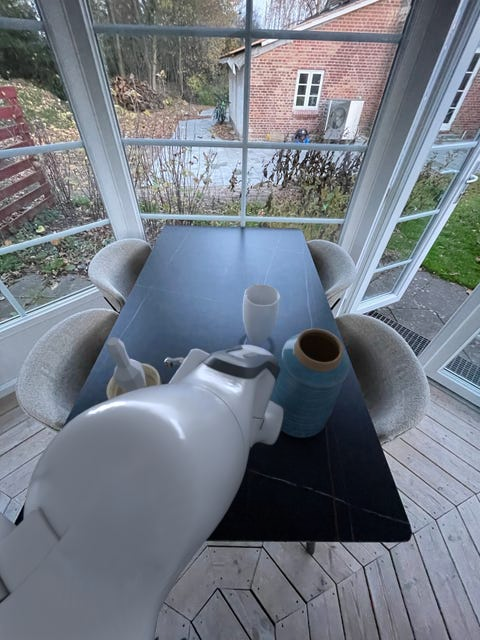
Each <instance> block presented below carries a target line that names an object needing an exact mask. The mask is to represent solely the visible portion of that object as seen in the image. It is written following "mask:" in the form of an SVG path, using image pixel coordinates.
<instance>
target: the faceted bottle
mask: <svg viewBox="0 0 480 640" xmlns="http://www.w3.org/2000/svg"><path fill="white" fill-rule="evenodd" d="M106 346H107V347H106V348H107V353H108V354H109V356H110V357H111V358H112V360H113V361H114V363H115V365H116V366H115V367H114V369H113V376H114V379H115V381H116V382H117V384H118V386H119V387H120V388H121V389H122V390H123V391H124V392H125V393H128V392H131V391H135V390H138V389H142V388H146V387H147V384H146V379H145V374H144V371H143V368H142V366H141V364H140V363H141V362H140V361H138V360H135V359H133V358H130V357H129V355H128V353H127V349H126V345H125V343H124V342H123V341H122V340H121V339H120V338H118V337H116V336H115V337H110V338H108V340H107V342H106Z"/></svg>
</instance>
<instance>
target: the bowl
mask: <svg viewBox="0 0 480 640" xmlns="http://www.w3.org/2000/svg"><path fill="white" fill-rule="evenodd" d="M140 364H141V366H142V368H143V371H144V374H145V379H146V384H147V387H150V386H156V385H163V382H162V379H161V376H160V374H159V371H158V370H157V369H156V368H155V367H154V366H152V365H151V364H148V363H142V362H140ZM122 394H125V392H124V391H123V390H122V389H121V388H120V387H119V386H118V384H117V382H116V381H115V379H114V375H112V377H111V378H110V379H109V382H108V384H107V385H106V397H107V400H109V399H112V398H114V397H116V396H119V395H122Z"/></svg>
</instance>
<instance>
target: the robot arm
mask: <svg viewBox="0 0 480 640" xmlns="http://www.w3.org/2000/svg"><path fill="white" fill-rule="evenodd" d="M278 362H279V360H278V359H277V357H276V356H275V355H273V354H272V352H270V351H268V350H267V349H265V348H263V347H261V346H257V345H254V344H237V345H236V346H233V347H231V348H225V349H220V350H216V351H212V352H211V353H208V352H206V351H204V350H203V349H200V348H192V349H191V350H190V351H189V352H188V354H187V356H186V357H185V358H184V357H182V356H181V357H175V358H172V357H170V356H167V357H166V358H165V360H164V361H163V364H164V366H166V367H168V368H173V366H179V367H178V369H177V370H176V372H174V374H173V376H172V378H171V379H170V380H169V382H168V383H164V384H163V383H162V384H163V385H156V386H150V387H146V388H142V389H138V390H135V391H131V392H128V393H125V394H122V395H119V396H116V397H114V398H112V399H109V400H108V399H107V400H105V401H102V402H100V403H97V404H95V405H93V406H91V407H89V408H87V409H86V410H83V412H81V413H79V414H78V415H76V416H75V417H73V418H72V419H71V420H70V421H68V422H67V423H66V424H65V425H64V426H63V427H62V428H61V429H60V430H59V431H58V432H57V433H56V434H55V435H54V436H53V437H52V439H51V441H50V442H49V443H48V445H47V446H46V448H45V449H44V450H43V452H42V454H41V455H40V457H39V459H38V461H37V462H36V464H35V467H34V469H33V471H32V473H31V477H30V480H29V483H28V487H27V491H26V494H25V499H24V505H23V506H24V507H23V520H22V521H21V522H19V524H18V525H16V524H15V522H13V521H12V520H10V519H9V517H7V516H6V515H5V514H4V513H3V512H1V511H0V640H160V639H159V635H157V637H156V629H157V624H158V620H159V616H160V613H161V610H162V608H163V606H164V604H165V602H166V600H167V598H168V597H169V596H170V595H169V594H170V593H171V592H172V590H173V588H174V587H175V584H176V583H177V581H178V580H179V578H180V576H181V575H182V574H183V572H184V570H185V569H186V567H187V566H188V565H189V564H190V562H191V561H192V560H193V558H194V557H195V555H196V554H197V553H198V551H200V549H201V547H202V546H203V545H204V544H205V543H206V541H207V540H208V539H209V538H210V537H211V535H212V534H213V532H214V531H215V530H216V528H217V527H218V525H219V524H220V523H221V521H222V520H223V519H224V516H225V515H226V514H227V512H228V511H229V509H230V506H231V505H232V503H233V502H234V499H235V497H236V495H237V493H238V491H239V489H240V487H241V485H242V482H243V479H244V476H245V473H246V469H247V466H248V465H247V464H248V460H249V455H250V450H251V449H252V448H253V446H254V445H255V444H256V443H262V444H265V445H268V446H270V445H271V446H272V445H274V444H275V443H276V442H277V441H278V439H279V437H280V435H281V433H282V431H281V429H282V425H283V419H284V410H283V408H282V407H281V406H279V405H278V404H276V403H274V402H272V401H270V397H271V394H272V391H273V388H274V385H275V383H276V381H277V378H278V375H279V373H280V370H281V369H280V366H279V363H278ZM180 640H188V638H186V637H182V638H181V639H180Z"/></svg>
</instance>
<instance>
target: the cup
mask: <svg viewBox="0 0 480 640" xmlns="http://www.w3.org/2000/svg"><path fill="white" fill-rule="evenodd" d="M280 302H281V294H280V292H279V290H278V289H277V288H276V287H274V286H272V285H269V284H265V283H255V284H252V285H250V286H248V287H247V288H246V289H245V290H244V293H243V300H242V321H243V326H244V330H245V334H246V336H247V338H248V340H249V342H250V343H251V345H254V346H258V347H260V346H262V345H263V344H264V343H265V342H267V340H268V339H269V337H270V336H271V334H272V333H273V330H274V328H275V327H276V323H277V320H278V315H279V309H280Z"/></svg>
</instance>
